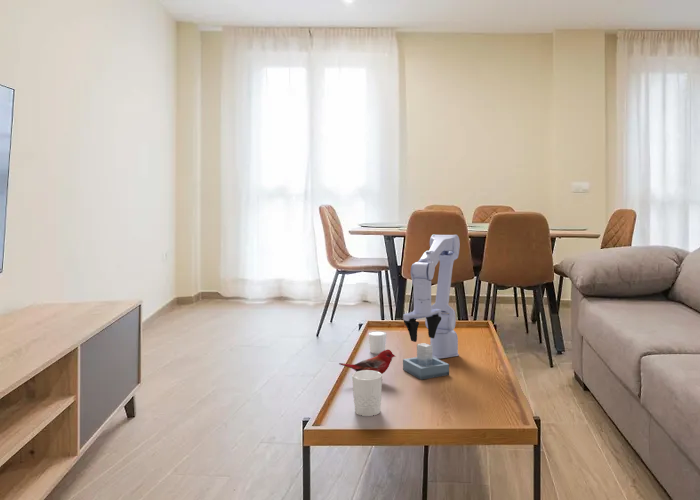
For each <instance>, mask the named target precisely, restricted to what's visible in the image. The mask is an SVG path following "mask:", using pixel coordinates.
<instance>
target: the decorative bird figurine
mask: <svg viewBox="0 0 700 500" xmlns="http://www.w3.org/2000/svg"><path fill="white" fill-rule="evenodd" d="M394 357H397V356H396V355H395V354H393V352H392V350H391V349H385V350H384V351H382V352H381V353H378V354H377V355H376V356H373V357H371V358H367V359H363V360H362V361H359V362H357V363H355V364H352V363H341V362H339V363H338V365H340V366H343V367H346V368H350V369H352V370H353V371H355V372H357V371H362V370H373V371H377V372H380V373H381V374H382V375H383V374H384V373H385V372H386V371H387V370H388V369H389V367H390V364H391V363H392V360H393V358H394Z"/></svg>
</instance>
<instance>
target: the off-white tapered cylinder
mask: <svg viewBox="0 0 700 500" xmlns="http://www.w3.org/2000/svg"><path fill="white" fill-rule="evenodd" d="M368 341H369V342H368V343H369V351H370V353H372V354H377V355H378V354H380V353H381V352H382V351H384V350H386V347H387V345H386V343H387V332H385V331H380V330H377V331H376V330H375V331H369V332H368Z"/></svg>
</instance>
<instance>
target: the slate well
mask: <svg viewBox="0 0 700 500" xmlns="http://www.w3.org/2000/svg"><path fill="white" fill-rule="evenodd" d="M432 365H433V366H427V367H421V366H419V365H417V356H415V357H408V358H403V359H402V369H403V371H405V372H406V373H408V374H409V375H412V376H414V377H415V378H416V379H417V378H418V379H419V380H421V381H422V380H427V379H433V378H440V377H445V376H450V363H447V362H445V361H444V360H441V359H437V358H435V357H433V356H432Z"/></svg>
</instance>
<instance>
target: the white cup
mask: <svg viewBox="0 0 700 500" xmlns="http://www.w3.org/2000/svg"><path fill="white" fill-rule="evenodd" d="M351 380H352V392H353V393H352V395H353V402H354V403H353V404H354V412H355V414H357V415H358V416H361V415H362V417H373V415H374V416H376V415H378V414H380V413H381V404H382V403H381V401H382V387H383V385H382V384H383V383H382V382H383V374H381V373H380V372H377V371H373V370H362V371H357V372H356V371H355V372H353V373H352V375H351Z"/></svg>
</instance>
